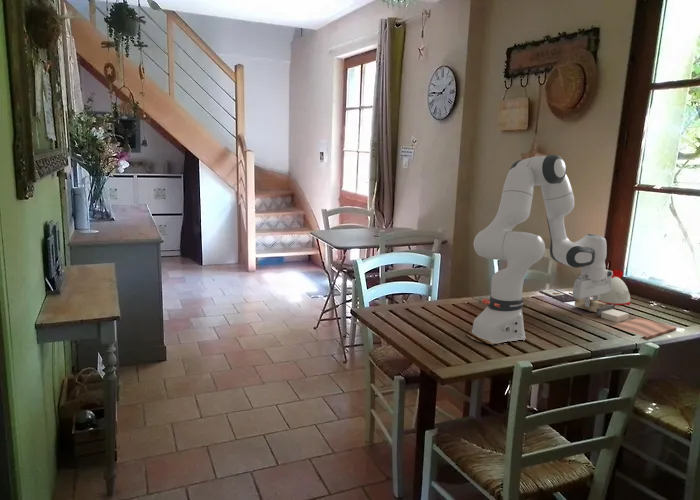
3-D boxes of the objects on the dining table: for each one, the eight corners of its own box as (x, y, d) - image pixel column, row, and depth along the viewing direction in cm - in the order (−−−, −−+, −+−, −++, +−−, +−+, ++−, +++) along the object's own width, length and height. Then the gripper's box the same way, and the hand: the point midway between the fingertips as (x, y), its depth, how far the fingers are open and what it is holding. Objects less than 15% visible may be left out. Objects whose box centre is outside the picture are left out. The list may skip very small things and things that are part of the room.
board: (647, 339, 187) (647, 336, 187) (579, 318, 211) (579, 316, 211) (676, 330, 196) (676, 327, 196) (608, 310, 220) (608, 308, 220)
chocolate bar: (563, 301, 233) (538, 291, 250) (563, 303, 233) (538, 293, 250) (580, 299, 235) (554, 289, 252) (580, 301, 235) (554, 291, 252)
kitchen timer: (637, 305, 226) (640, 271, 223) (610, 308, 223) (612, 274, 220) (614, 296, 239) (616, 265, 236) (588, 299, 236) (590, 267, 233)
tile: (617, 322, 203) (617, 316, 203) (600, 317, 209) (601, 312, 209) (628, 318, 206) (628, 313, 206) (612, 314, 212) (612, 308, 212)
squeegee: (568, 307, 220) (569, 298, 220) (584, 303, 225) (584, 294, 224) (598, 316, 208) (599, 306, 208) (614, 311, 213) (615, 302, 212)
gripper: (583, 278, 206) (581, 312, 209) (615, 271, 216) (613, 303, 219) (569, 275, 212) (567, 308, 214) (601, 268, 221) (599, 299, 224)
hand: (591, 305), depth 217 cm, fingers closed on squeegee, 2 cm apart
